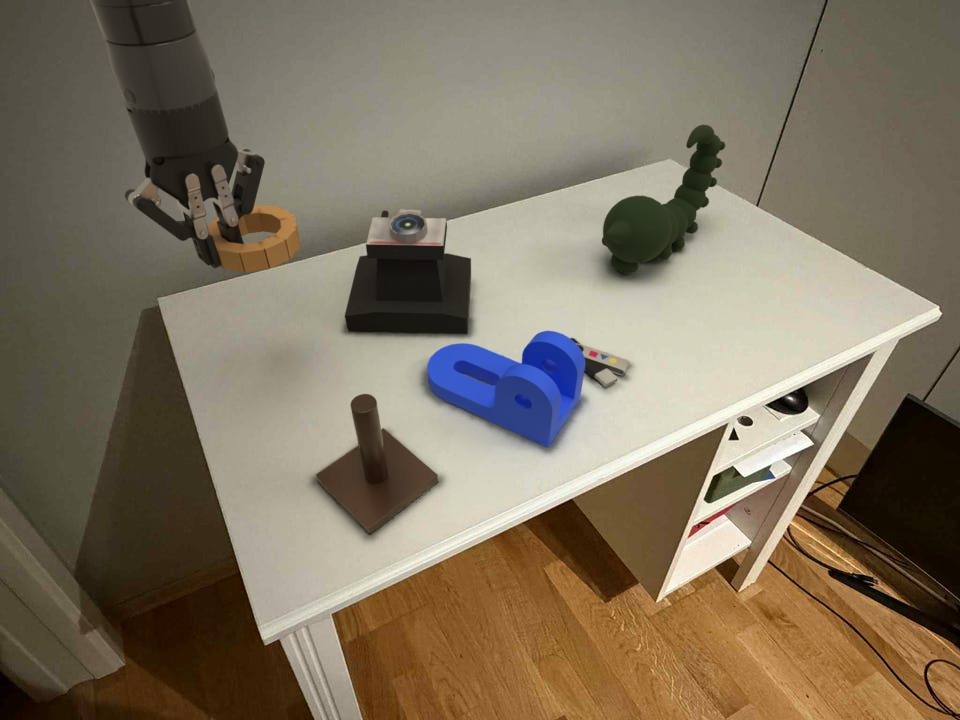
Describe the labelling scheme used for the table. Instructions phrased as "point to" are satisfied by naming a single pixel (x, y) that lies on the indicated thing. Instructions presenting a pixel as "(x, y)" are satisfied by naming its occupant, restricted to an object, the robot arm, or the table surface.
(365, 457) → the brown peg stand
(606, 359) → the usb flash drive
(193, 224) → the robot arm
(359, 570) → the table surface
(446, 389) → the bracket
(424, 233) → the camera
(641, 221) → the toy figurine
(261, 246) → the orange segmented ring
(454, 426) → the table surface
